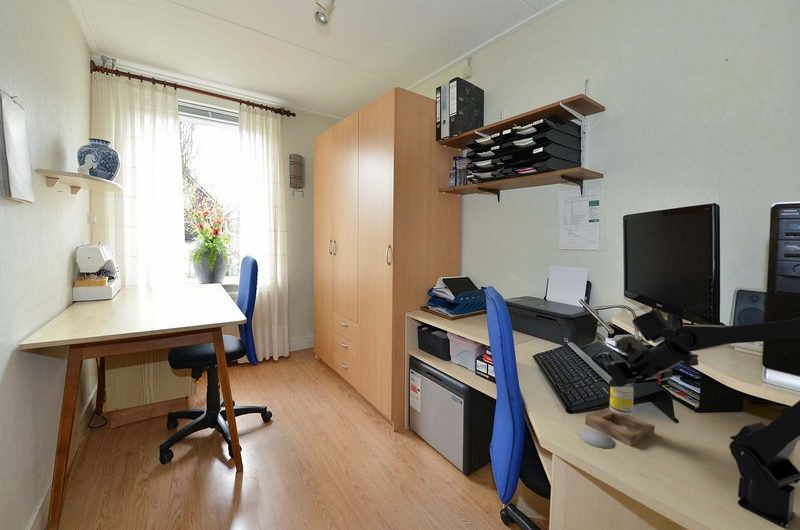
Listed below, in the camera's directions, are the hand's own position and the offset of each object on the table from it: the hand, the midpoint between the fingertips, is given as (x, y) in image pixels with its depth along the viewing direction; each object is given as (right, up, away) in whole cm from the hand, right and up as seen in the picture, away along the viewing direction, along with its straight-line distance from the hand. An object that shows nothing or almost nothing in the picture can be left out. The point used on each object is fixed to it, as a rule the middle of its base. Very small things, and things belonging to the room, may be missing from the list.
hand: (617, 383), depth 95 cm
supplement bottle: (0, -7, -1) cm, 7 cm away
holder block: (0, -13, 0) cm, 13 cm away
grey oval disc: (-9, -13, -6) cm, 17 cm away
